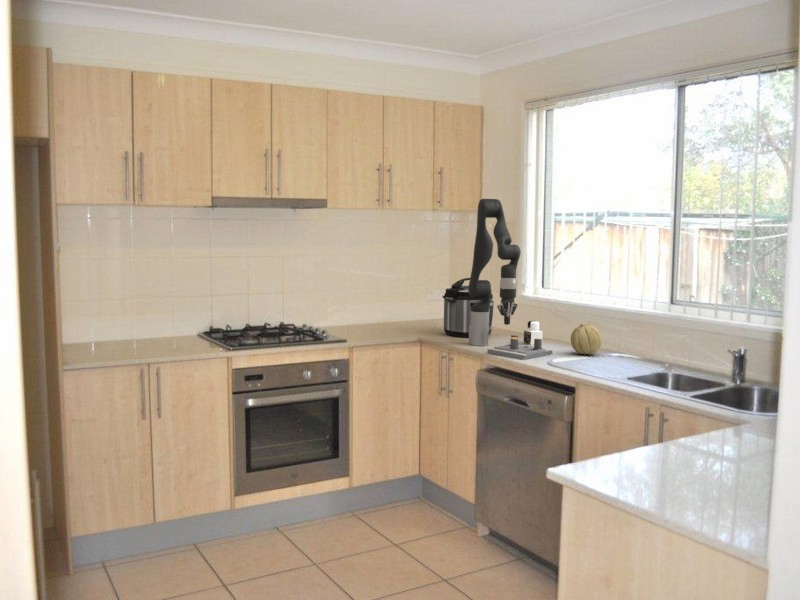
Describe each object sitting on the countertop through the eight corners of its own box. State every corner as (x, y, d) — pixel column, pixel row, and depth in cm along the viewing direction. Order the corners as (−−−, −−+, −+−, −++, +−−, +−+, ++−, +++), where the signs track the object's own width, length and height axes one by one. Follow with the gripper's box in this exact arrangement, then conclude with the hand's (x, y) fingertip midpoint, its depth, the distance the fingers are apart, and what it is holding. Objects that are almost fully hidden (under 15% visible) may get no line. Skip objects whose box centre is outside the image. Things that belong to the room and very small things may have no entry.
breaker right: (533, 350, 360) (533, 338, 360) (536, 349, 363) (537, 338, 362) (538, 351, 358) (538, 339, 358) (542, 350, 360) (542, 339, 360)
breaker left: (510, 346, 371) (510, 335, 370) (513, 345, 373) (514, 334, 372) (514, 347, 368) (515, 336, 368) (518, 346, 370) (519, 335, 370)
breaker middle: (509, 350, 359) (509, 337, 359) (513, 349, 361) (513, 337, 361) (514, 351, 357) (514, 338, 356) (518, 350, 359) (518, 337, 358)
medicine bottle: (523, 343, 395) (524, 320, 393) (535, 342, 397) (536, 320, 396) (530, 345, 388) (531, 322, 387) (542, 344, 390) (543, 321, 389)
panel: (487, 353, 363) (487, 347, 363) (515, 348, 378) (516, 342, 378) (524, 359, 347) (524, 353, 347) (552, 354, 362) (552, 348, 362)
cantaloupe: (607, 356, 361) (609, 324, 359) (584, 358, 354) (586, 326, 352) (586, 351, 374) (587, 321, 372) (563, 353, 367) (564, 322, 365)
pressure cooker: (446, 338, 405) (447, 279, 401) (436, 331, 433) (437, 275, 429) (500, 338, 409) (502, 280, 406) (487, 330, 437) (489, 276, 433)
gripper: (510, 286, 359) (509, 322, 360) (492, 287, 349) (491, 324, 351) (523, 287, 353) (521, 324, 355) (505, 288, 344) (504, 326, 346)
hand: (506, 324), depth 353 cm, fingers closed
